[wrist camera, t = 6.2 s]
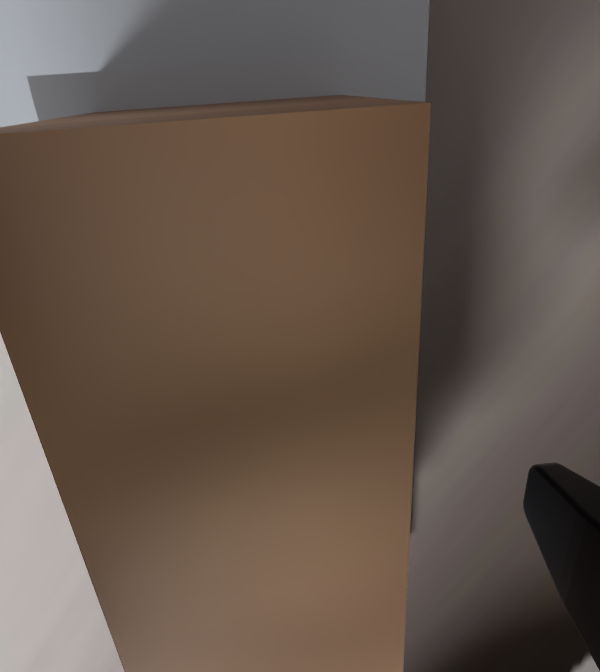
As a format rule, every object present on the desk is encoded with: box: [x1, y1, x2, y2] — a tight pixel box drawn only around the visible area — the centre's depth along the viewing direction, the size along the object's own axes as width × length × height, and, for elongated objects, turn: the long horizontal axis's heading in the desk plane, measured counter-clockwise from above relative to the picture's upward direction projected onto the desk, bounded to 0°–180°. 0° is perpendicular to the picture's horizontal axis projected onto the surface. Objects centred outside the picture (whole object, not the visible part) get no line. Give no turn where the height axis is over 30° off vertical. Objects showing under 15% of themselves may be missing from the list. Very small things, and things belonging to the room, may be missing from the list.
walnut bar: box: [0, 95, 431, 672], centre depth 8 cm, size 12×4×4 cm, turn 4°
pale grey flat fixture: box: [0, 0, 430, 127], centre depth 12 cm, size 16×9×4 cm, turn 4°
